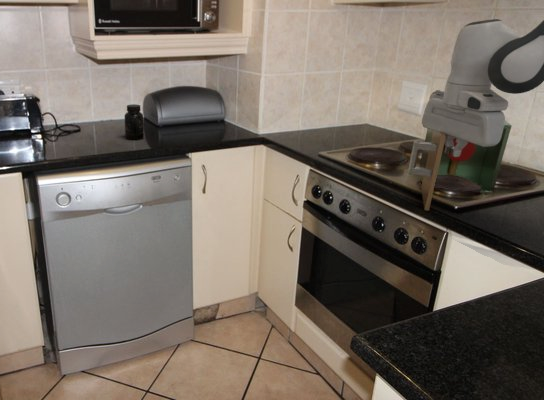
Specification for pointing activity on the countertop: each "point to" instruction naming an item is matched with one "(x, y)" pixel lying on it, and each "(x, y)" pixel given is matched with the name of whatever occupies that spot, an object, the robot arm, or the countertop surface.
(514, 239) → the countertop surface
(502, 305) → the countertop surface
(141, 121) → the supplement bottle
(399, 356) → the countertop surface
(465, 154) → the valve
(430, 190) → the door
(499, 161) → the valve cabinet
